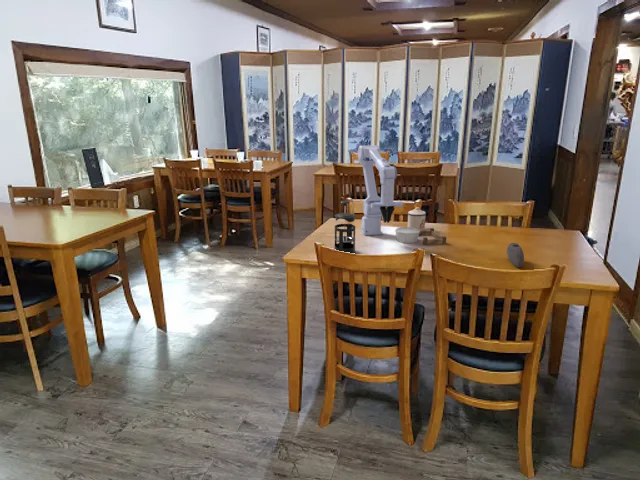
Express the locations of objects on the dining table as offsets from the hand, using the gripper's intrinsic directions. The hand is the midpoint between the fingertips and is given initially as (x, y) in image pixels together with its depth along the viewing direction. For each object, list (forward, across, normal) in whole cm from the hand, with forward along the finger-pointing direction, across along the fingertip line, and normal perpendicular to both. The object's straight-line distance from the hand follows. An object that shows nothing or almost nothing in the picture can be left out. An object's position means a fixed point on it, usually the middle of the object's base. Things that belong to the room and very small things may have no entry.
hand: (386, 222), depth 206 cm
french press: (+10, -22, -13) cm, 27 cm away
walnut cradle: (+9, +21, 0) cm, 23 cm away
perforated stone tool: (+10, +43, -38) cm, 58 cm away
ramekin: (+10, +10, 0) cm, 14 cm away
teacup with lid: (+10, +22, +19) cm, 31 cm away
